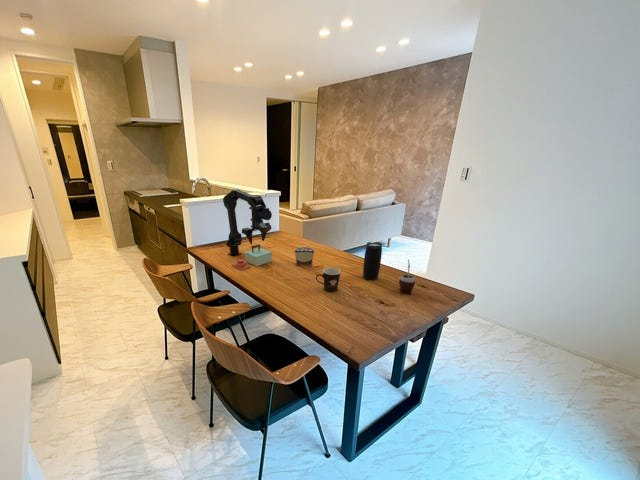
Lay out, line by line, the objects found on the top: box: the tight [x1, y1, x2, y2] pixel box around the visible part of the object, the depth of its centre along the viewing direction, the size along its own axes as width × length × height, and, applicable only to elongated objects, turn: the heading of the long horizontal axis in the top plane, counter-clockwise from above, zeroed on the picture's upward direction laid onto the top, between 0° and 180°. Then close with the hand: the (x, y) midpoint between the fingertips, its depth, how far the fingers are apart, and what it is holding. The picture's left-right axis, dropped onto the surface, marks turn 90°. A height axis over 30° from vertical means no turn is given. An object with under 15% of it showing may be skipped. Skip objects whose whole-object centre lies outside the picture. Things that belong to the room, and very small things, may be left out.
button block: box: [232, 260, 251, 271], centre depth 182 cm, size 10×6×3 cm, turn 41°
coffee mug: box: [315, 267, 342, 293], centre depth 150 cm, size 12×9×10 cm
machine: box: [244, 252, 273, 267], centre depth 190 cm, size 12×13×5 cm
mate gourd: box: [398, 259, 416, 295], centre depth 145 cm, size 8×8×15 cm
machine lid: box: [244, 243, 273, 258], centre depth 188 cm, size 12×13×5 cm
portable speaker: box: [362, 241, 383, 281], centre depth 160 cm, size 9×9×20 cm
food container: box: [293, 246, 315, 267], centre depth 183 cm, size 12×6×10 cm, turn 84°
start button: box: [237, 258, 245, 264], centre depth 181 cm, size 4×4×2 cm
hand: (257, 242), depth 182 cm, fingers open, 9 cm apart
